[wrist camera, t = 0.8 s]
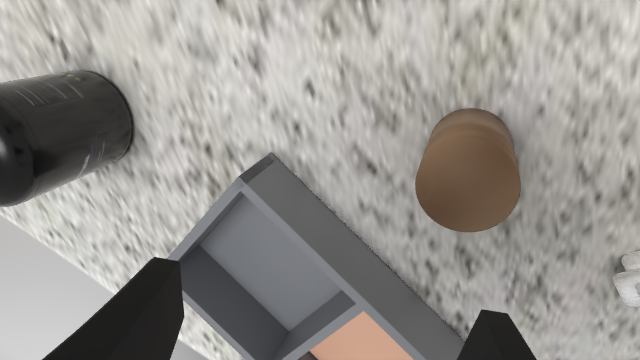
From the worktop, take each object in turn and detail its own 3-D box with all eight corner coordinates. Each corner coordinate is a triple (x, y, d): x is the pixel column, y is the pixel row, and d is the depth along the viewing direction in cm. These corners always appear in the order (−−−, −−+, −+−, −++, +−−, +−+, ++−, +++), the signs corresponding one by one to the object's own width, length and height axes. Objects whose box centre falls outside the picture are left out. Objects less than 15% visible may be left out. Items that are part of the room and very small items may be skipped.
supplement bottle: (135, 173, 34) (-24, 255, 23) (59, 148, 35) (-124, 213, 25) (137, 81, 31) (-43, 125, 20) (54, 57, 32) (-156, 87, 22)
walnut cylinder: (530, 149, 25) (544, 191, 19) (466, 199, 27) (462, 249, 21) (472, 91, 25) (469, 117, 19) (412, 145, 27) (395, 183, 21)
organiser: (491, 368, 30) (493, 424, 26) (384, 425, 35) (372, 481, 31) (271, 152, 30) (238, 176, 26) (192, 240, 34) (154, 272, 30)
